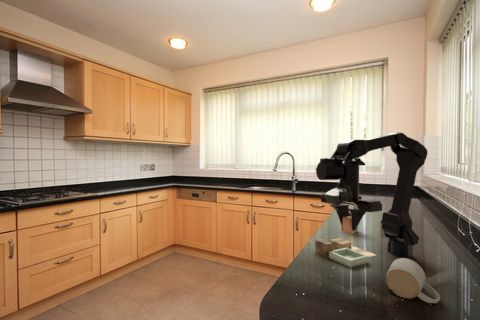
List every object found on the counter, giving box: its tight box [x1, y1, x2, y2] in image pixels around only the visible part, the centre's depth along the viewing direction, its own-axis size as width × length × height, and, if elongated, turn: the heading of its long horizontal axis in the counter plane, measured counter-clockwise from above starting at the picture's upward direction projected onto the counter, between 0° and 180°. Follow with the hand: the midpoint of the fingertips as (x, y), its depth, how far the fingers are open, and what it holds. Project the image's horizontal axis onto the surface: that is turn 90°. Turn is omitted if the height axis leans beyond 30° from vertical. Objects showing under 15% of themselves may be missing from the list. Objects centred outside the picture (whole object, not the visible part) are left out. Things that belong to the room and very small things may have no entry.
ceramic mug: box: [385, 257, 441, 304], centre depth 60 cm, size 11×8×8 cm
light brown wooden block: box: [329, 237, 352, 250], centre depth 87 cm, size 5×5×3 cm
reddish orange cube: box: [342, 216, 356, 234], centre depth 78 cm, size 4×4×4 cm
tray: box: [328, 248, 369, 268], centre depth 78 cm, size 8×8×2 cm
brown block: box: [314, 238, 333, 258], centre depth 83 cm, size 5×3×4 cm, turn 27°
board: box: [314, 245, 377, 261], centre depth 84 cm, size 12×16×2 cm
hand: (348, 228), depth 78 cm, fingers closed on reddish orange cube, 3 cm apart
